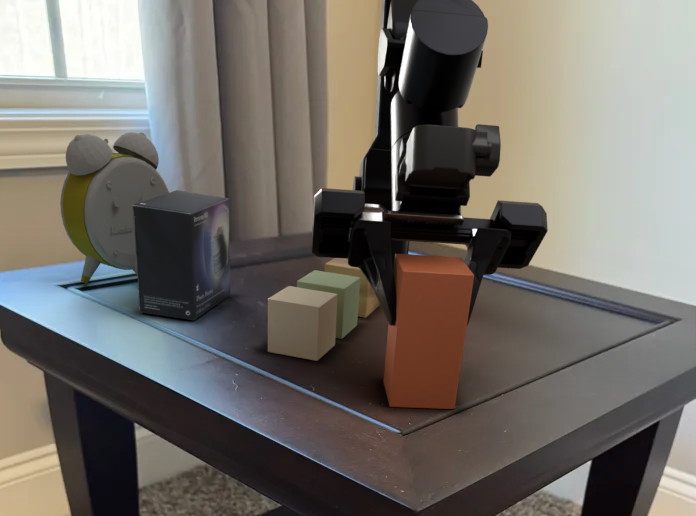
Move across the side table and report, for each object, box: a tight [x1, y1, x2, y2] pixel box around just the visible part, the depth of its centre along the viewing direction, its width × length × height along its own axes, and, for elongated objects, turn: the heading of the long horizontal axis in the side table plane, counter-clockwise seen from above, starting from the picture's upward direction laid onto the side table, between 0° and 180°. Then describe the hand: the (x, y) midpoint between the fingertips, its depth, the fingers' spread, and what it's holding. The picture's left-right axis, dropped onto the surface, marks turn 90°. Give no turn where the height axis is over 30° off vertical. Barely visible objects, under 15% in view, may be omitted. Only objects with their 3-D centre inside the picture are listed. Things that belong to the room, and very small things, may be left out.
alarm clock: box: [59, 131, 170, 285], centre depth 84 cm, size 12×7×15 cm, turn 144°
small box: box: [132, 189, 231, 321], centre depth 80 cm, size 11×6×10 cm, turn 168°
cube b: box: [296, 269, 360, 340], centre depth 78 cm, size 5×5×5 cm
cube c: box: [267, 285, 338, 362], centre depth 72 cm, size 5×5×5 cm
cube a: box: [324, 258, 380, 318], centre depth 85 cm, size 5×5×5 cm
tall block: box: [382, 253, 474, 410], centre depth 63 cm, size 6×6×11 cm
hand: (428, 324), depth 61 cm, fingers closed on tall block, 5 cm apart
